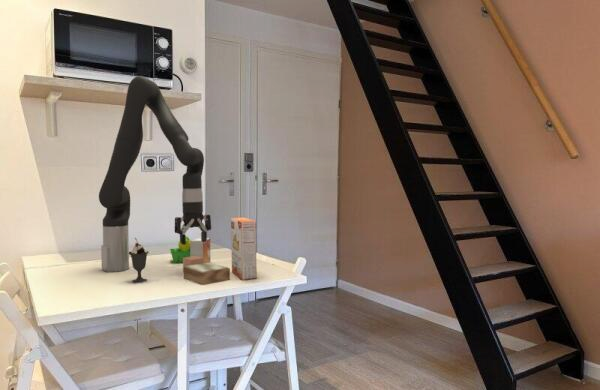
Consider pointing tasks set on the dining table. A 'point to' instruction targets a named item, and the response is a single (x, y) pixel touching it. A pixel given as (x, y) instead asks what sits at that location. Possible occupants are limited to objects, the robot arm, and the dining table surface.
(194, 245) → the small box
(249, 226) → the cracker box
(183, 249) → the fruit basket
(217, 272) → the block
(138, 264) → the sundae
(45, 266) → the dining table surface
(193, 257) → the cube
